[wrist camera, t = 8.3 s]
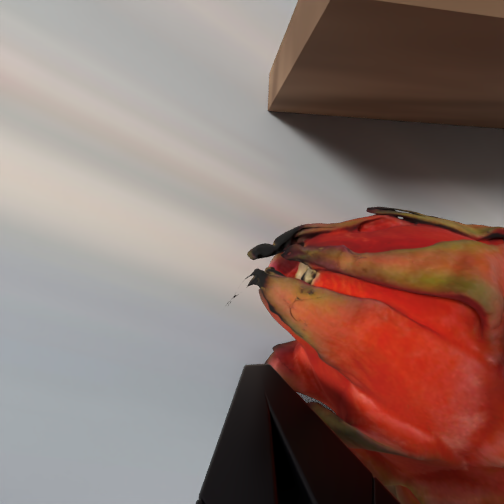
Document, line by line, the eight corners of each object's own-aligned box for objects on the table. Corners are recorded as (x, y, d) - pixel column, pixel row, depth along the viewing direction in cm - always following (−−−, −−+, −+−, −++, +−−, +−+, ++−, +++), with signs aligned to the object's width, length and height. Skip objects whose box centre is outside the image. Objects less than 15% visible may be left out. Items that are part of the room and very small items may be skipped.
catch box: (524, 436, 15) (685, 569, 10) (251, 463, 13) (270, 649, 8) (656, 109, 11) (1088, 30, 5) (269, 73, 9) (343, -116, 3)
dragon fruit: (407, 357, 14) (247, 235, 13) (630, 300, 9) (379, 75, 7) (431, 580, 8) (140, 391, 7) (1258, 912, 2) (403, 181, 1)
